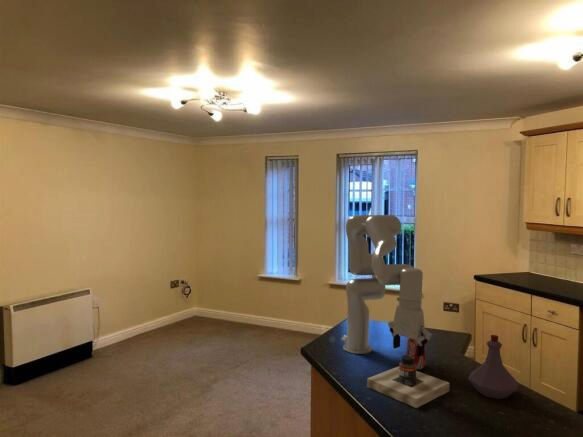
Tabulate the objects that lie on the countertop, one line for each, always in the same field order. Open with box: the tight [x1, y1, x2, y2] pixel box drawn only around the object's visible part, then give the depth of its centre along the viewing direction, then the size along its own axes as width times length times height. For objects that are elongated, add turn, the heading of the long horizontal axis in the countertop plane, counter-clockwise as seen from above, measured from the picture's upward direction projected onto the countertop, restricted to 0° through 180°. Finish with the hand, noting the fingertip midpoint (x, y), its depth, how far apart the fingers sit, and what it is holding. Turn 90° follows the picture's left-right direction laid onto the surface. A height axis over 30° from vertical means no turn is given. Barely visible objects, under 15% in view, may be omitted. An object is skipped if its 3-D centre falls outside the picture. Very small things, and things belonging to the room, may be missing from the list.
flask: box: [467, 334, 519, 400], centre depth 147 cm, size 16×16×20 cm
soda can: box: [406, 338, 427, 371], centre depth 170 cm, size 7×7×12 cm
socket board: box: [366, 365, 450, 409], centre depth 150 cm, size 20×20×3 cm
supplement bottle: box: [398, 354, 417, 387], centre depth 150 cm, size 6×6×11 cm
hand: (408, 351), depth 150 cm, fingers open, 9 cm apart
